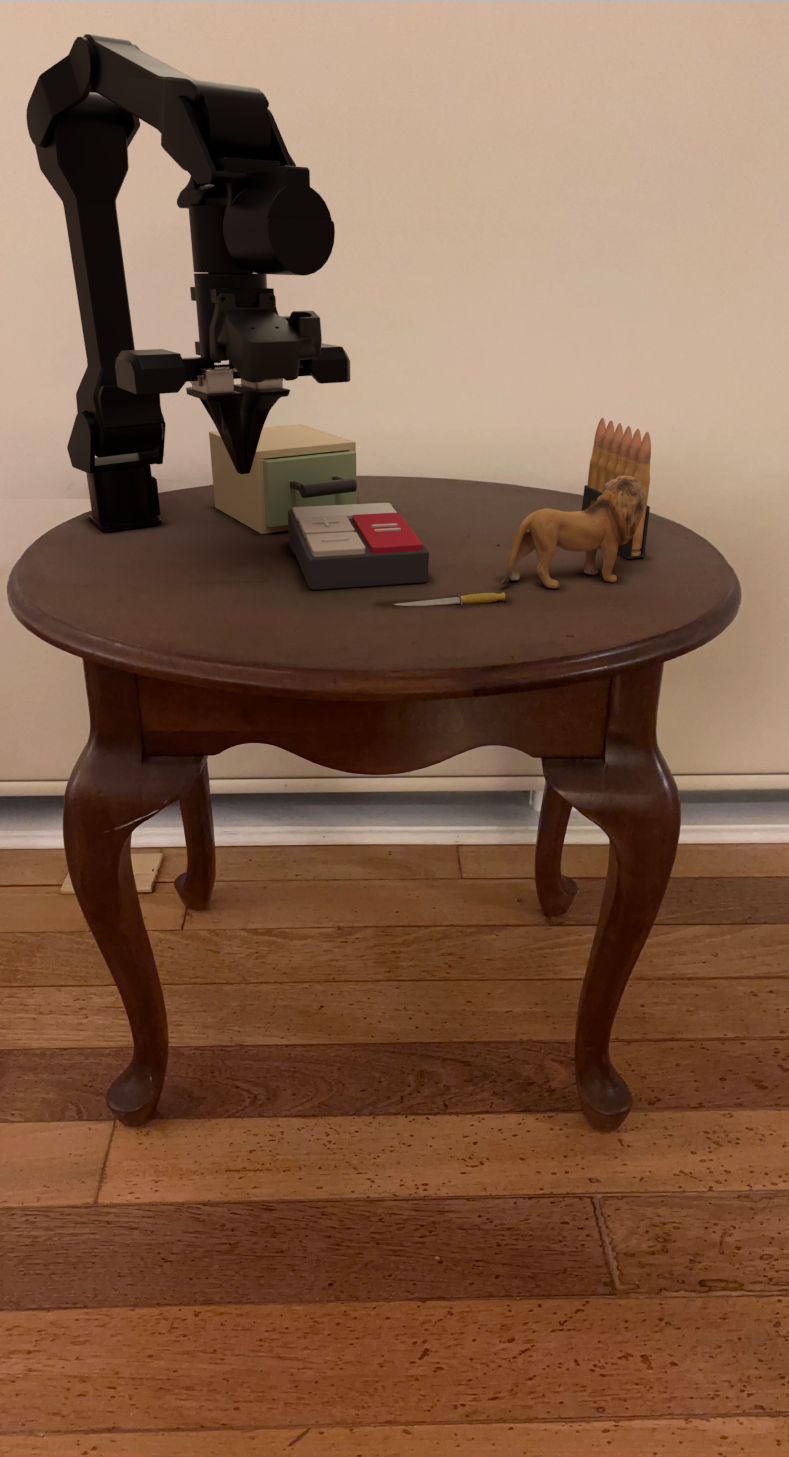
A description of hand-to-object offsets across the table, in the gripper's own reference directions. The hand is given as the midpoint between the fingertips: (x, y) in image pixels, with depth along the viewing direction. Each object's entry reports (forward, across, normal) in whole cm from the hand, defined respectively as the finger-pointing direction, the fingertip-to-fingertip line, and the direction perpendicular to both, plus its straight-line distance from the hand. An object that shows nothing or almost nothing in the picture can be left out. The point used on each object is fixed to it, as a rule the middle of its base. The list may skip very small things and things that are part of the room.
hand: (243, 473), depth 81 cm
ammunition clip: (+10, +37, -8) cm, 39 cm away
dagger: (+10, +12, -14) cm, 21 cm away
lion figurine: (+10, +26, -14) cm, 31 cm away
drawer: (+9, +13, +17) cm, 23 cm away
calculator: (+10, +11, 0) cm, 15 cm away
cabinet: (+10, +13, +21) cm, 26 cm away
